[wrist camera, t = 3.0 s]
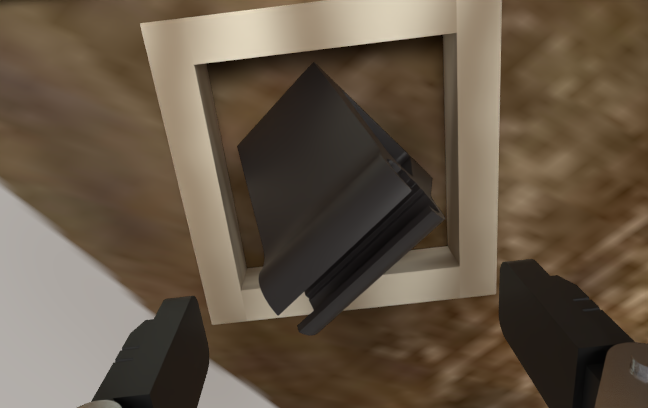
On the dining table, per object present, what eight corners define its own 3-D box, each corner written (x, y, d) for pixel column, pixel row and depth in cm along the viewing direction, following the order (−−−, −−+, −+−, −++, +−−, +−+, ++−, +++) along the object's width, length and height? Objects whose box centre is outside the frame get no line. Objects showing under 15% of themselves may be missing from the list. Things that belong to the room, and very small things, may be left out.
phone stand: (431, 176, 26) (516, 290, 15) (354, 246, 28) (381, 397, 17) (314, 60, 24) (313, 94, 13) (238, 143, 26) (177, 239, 14)
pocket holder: (483, -18, 23) (502, -22, 20) (481, 271, 29) (496, 294, 26) (157, 23, 23) (139, 23, 21) (220, 300, 29) (212, 324, 27)
